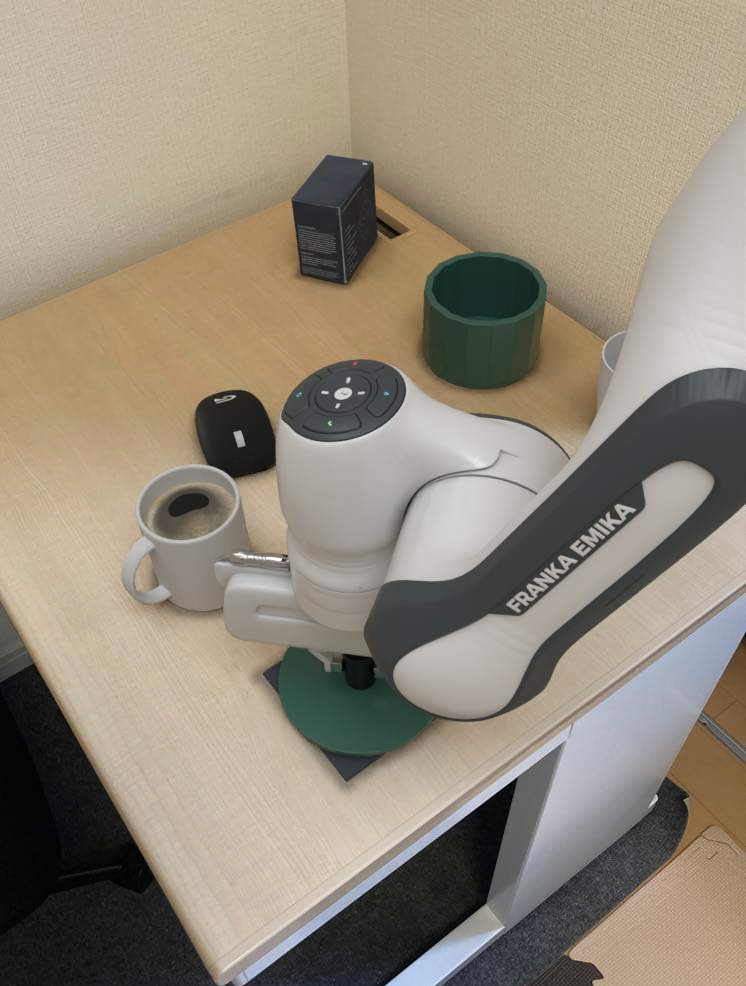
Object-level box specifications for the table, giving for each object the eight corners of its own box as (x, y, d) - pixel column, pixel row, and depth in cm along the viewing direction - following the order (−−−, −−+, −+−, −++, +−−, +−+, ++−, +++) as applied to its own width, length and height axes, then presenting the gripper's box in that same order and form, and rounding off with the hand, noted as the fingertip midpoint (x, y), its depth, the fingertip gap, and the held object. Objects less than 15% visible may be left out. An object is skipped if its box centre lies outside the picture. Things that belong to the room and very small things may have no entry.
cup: (615, 472, 89) (636, 396, 82) (569, 420, 94) (585, 344, 86) (683, 445, 91) (710, 368, 83) (635, 396, 96) (656, 319, 88)
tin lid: (451, 625, 78) (455, 587, 74) (433, 772, 70) (436, 738, 66) (298, 606, 80) (292, 568, 76) (262, 747, 72) (254, 712, 68)
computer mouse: (255, 392, 99) (250, 364, 96) (285, 467, 92) (281, 439, 89) (187, 410, 98) (181, 381, 95) (213, 487, 91) (206, 459, 88)
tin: (539, 319, 105) (549, 255, 98) (534, 393, 97) (544, 329, 90) (430, 311, 106) (432, 248, 100) (416, 383, 99) (417, 320, 92)
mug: (251, 530, 87) (237, 457, 79) (258, 611, 81) (243, 541, 73) (138, 544, 87) (112, 472, 79) (136, 627, 81) (108, 558, 73)
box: (331, 229, 118) (326, 152, 110) (378, 238, 116) (377, 161, 108) (297, 275, 112) (289, 197, 104) (346, 286, 110) (342, 207, 102)
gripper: (196, 584, 62) (226, 685, 73) (498, 621, 59) (482, 720, 70) (220, 515, 66) (245, 620, 77) (504, 546, 63) (489, 651, 74)
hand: (360, 668), depth 73 cm, fingers closed on tin lid, 2 cm apart
